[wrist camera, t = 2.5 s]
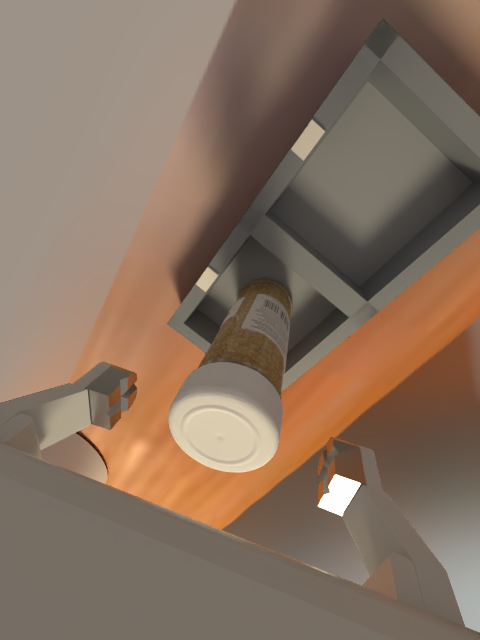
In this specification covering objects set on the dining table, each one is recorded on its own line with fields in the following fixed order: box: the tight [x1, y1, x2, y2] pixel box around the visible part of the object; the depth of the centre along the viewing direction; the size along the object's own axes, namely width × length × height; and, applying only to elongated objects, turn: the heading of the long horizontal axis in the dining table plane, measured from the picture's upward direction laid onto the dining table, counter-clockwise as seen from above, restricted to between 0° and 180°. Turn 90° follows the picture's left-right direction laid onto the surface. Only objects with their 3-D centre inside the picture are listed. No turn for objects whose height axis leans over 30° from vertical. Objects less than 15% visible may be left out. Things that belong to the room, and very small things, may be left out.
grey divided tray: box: [167, 18, 480, 392], centre depth 19 cm, size 20×10×4 cm, turn 144°
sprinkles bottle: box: [168, 279, 293, 472], centre depth 16 cm, size 5×4×13 cm
